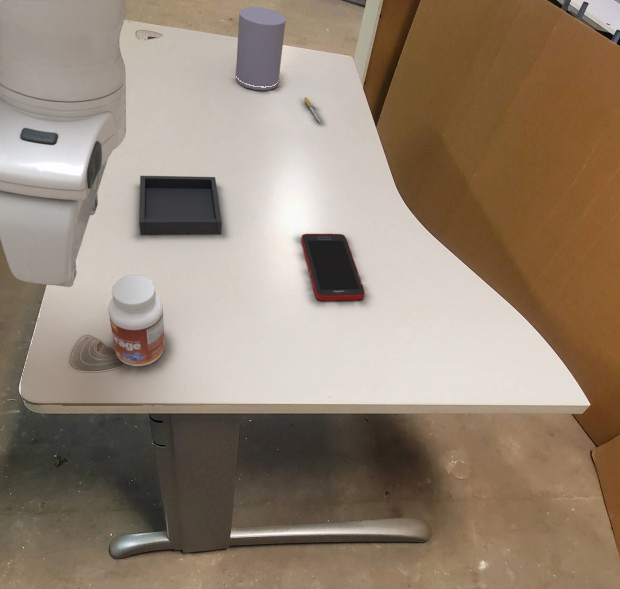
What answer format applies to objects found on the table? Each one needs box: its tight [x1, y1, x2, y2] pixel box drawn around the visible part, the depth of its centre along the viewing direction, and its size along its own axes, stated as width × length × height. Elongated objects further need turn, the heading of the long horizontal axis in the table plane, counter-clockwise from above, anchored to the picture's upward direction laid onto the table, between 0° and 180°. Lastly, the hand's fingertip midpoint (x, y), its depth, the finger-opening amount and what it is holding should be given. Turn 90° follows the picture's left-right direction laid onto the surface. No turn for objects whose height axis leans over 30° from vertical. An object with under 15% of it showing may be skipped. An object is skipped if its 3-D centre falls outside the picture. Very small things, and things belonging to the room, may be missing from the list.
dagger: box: [303, 96, 321, 123], centre depth 120 cm, size 11×1×2 cm
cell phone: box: [300, 233, 366, 301], centre depth 84 cm, size 8×15×1 cm, turn 10°
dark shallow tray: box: [138, 175, 223, 236], centre depth 87 cm, size 13×13×3 cm
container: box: [235, 6, 287, 92], centre depth 122 cm, size 10×10×15 cm
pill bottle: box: [108, 274, 165, 367], centre depth 63 cm, size 6×6×11 cm
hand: (76, 242), depth 48 cm, fingers open, 8 cm apart
